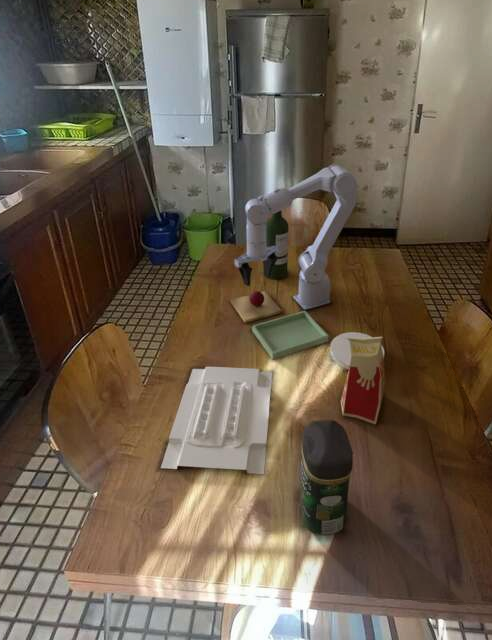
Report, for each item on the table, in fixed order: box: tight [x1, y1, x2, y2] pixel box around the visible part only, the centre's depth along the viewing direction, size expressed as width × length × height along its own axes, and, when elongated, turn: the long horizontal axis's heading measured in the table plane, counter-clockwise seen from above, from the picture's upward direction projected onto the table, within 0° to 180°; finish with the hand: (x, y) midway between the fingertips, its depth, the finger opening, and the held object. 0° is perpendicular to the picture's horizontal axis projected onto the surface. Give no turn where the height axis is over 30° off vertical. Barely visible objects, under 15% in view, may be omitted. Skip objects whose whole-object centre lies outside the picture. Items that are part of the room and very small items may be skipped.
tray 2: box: [251, 310, 330, 360], centre depth 122 cm, size 17×13×2 cm
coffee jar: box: [299, 419, 354, 536], centre depth 74 cm, size 10×8×19 cm
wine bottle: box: [266, 210, 290, 280], centre depth 147 cm, size 8×8×30 cm
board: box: [230, 290, 283, 324], centre depth 135 cm, size 12×12×1 cm
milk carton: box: [340, 336, 386, 425], centre depth 96 cm, size 9×9×20 cm
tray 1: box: [160, 366, 274, 475], centre depth 97 cm, size 20×28×4 cm
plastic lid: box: [329, 331, 385, 371], centre depth 115 cm, size 14×14×2 cm
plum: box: [249, 290, 264, 306], centre depth 133 cm, size 5×5×5 cm
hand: (257, 280), depth 132 cm, fingers open, 7 cm apart
